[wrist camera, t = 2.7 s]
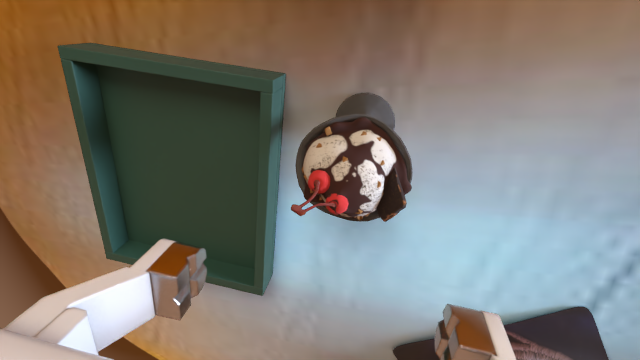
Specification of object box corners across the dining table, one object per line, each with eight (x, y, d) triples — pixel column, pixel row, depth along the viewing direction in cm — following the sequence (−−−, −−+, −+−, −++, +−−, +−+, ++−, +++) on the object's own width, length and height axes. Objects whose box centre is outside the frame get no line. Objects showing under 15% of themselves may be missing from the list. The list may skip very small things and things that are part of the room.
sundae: (310, 106, 28) (239, 186, 15) (383, 66, 26) (374, 119, 12) (347, 170, 30) (313, 292, 17) (418, 139, 28) (443, 252, 14)
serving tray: (90, 42, 29) (57, 45, 27) (286, 73, 27) (273, 80, 24) (127, 240, 40) (106, 258, 37) (272, 274, 37) (262, 296, 35)
